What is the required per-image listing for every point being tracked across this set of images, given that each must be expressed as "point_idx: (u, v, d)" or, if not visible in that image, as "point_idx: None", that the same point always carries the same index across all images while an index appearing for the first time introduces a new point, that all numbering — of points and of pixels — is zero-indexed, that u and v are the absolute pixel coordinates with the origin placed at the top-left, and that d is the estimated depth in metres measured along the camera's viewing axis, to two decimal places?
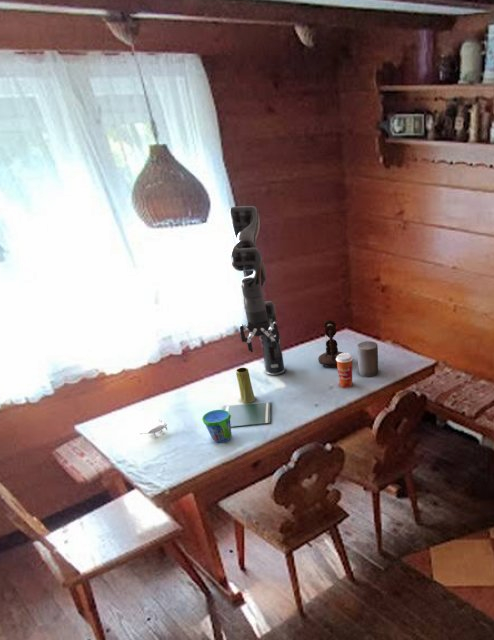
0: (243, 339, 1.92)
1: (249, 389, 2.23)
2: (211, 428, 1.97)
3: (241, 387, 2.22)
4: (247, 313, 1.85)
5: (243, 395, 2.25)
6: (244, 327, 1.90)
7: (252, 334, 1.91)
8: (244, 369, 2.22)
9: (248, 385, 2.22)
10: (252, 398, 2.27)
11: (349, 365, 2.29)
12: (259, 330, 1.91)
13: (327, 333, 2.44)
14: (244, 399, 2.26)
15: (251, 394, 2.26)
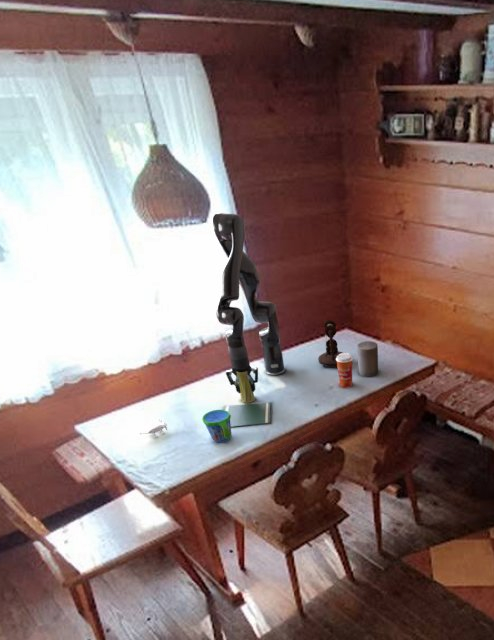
0: (231, 382, 2.21)
1: (249, 389, 2.23)
2: (211, 428, 1.97)
3: (241, 387, 2.22)
4: (231, 360, 2.14)
5: (243, 395, 2.25)
6: (229, 372, 2.19)
7: (237, 377, 2.20)
8: None
9: (248, 385, 2.22)
10: (252, 398, 2.27)
11: (349, 365, 2.29)
12: None
13: (327, 333, 2.44)
14: (244, 399, 2.26)
15: (251, 394, 2.26)
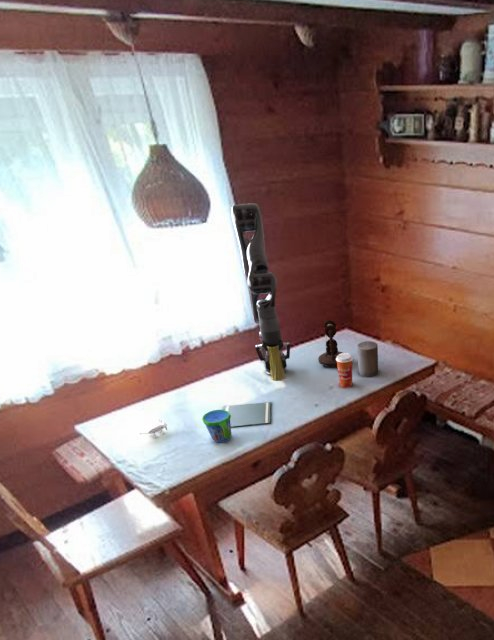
0: (261, 358, 2.04)
1: (280, 365, 2.06)
2: (211, 428, 1.97)
3: (272, 363, 2.05)
4: (262, 333, 1.96)
5: (273, 372, 2.07)
6: (259, 347, 2.02)
7: (268, 353, 2.02)
8: None
9: (279, 361, 2.05)
10: (283, 376, 2.09)
11: (349, 365, 2.29)
12: None
13: (327, 333, 2.44)
14: (274, 377, 2.08)
15: (282, 371, 2.08)
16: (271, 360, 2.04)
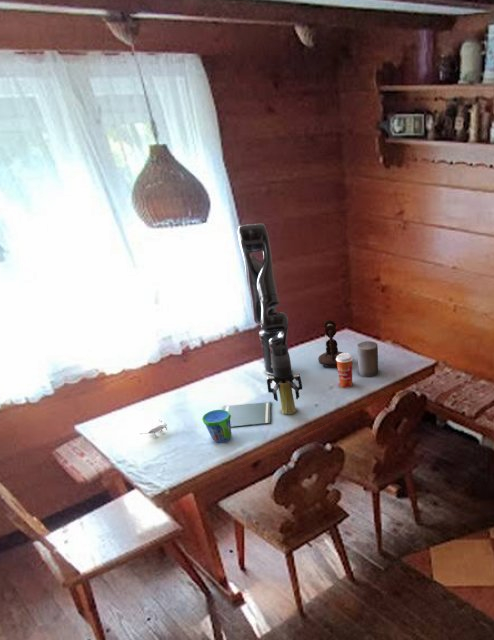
0: (269, 390, 2.11)
1: (290, 400, 2.15)
2: (211, 428, 1.97)
3: (283, 398, 2.14)
4: (274, 368, 2.05)
5: (284, 406, 2.16)
6: (270, 380, 2.09)
7: (278, 386, 2.10)
8: None
9: (290, 396, 2.14)
10: (293, 409, 2.18)
11: (349, 365, 2.29)
12: (284, 382, 2.10)
13: (327, 333, 2.44)
14: (285, 411, 2.17)
15: (292, 405, 2.17)
16: (282, 395, 2.13)
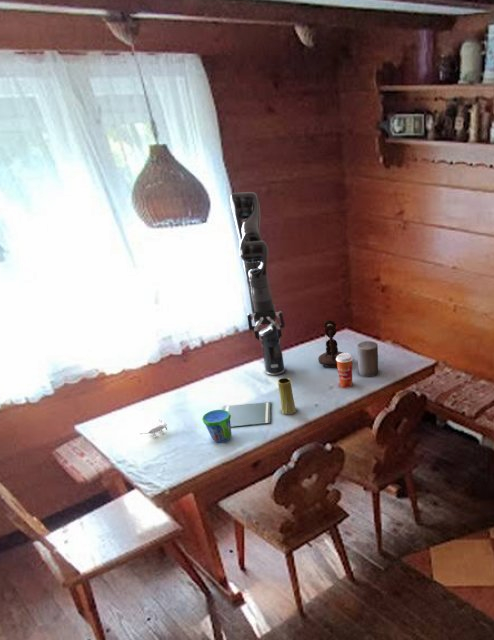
0: (250, 327, 2.04)
1: (290, 400, 2.15)
2: (211, 428, 1.97)
3: (283, 398, 2.14)
4: (254, 302, 1.98)
5: (284, 406, 2.16)
6: (251, 316, 2.02)
7: (259, 322, 2.03)
8: (286, 380, 2.13)
9: (290, 396, 2.14)
10: (293, 409, 2.18)
11: (349, 365, 2.29)
12: (265, 319, 2.03)
13: (327, 333, 2.44)
14: (285, 411, 2.17)
15: (292, 405, 2.17)
16: (282, 395, 2.13)
